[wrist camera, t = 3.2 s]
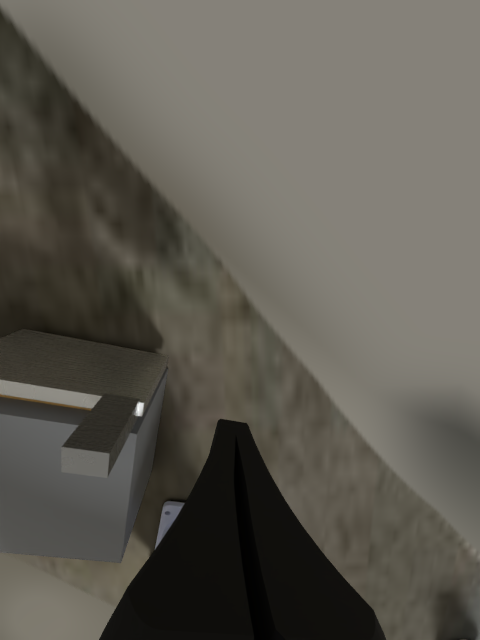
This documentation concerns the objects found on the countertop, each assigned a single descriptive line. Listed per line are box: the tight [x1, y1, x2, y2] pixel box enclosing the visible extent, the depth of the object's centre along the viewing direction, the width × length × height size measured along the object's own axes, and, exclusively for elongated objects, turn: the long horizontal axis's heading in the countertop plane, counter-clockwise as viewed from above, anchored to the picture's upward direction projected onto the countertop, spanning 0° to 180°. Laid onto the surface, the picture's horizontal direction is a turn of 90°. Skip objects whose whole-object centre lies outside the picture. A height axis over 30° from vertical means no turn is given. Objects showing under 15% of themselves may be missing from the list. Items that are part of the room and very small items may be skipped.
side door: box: [0, 329, 168, 478], centre depth 12 cm, size 1×9×8 cm, turn 76°
